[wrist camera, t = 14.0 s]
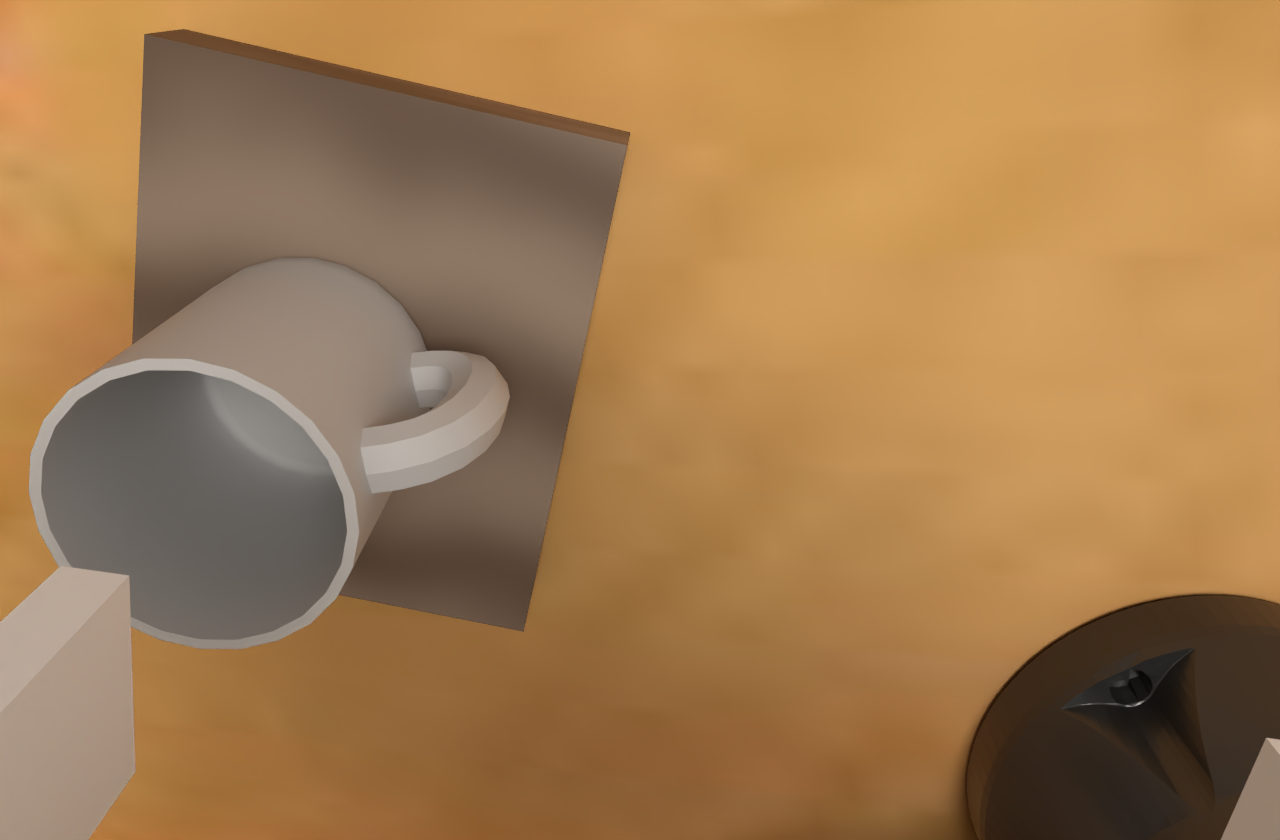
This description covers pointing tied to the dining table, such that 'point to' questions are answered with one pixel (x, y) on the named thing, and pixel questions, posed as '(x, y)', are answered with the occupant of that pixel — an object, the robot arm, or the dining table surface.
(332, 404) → the cup
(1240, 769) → the robot arm
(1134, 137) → the dining table surface
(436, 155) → the board
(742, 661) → the dining table surface
